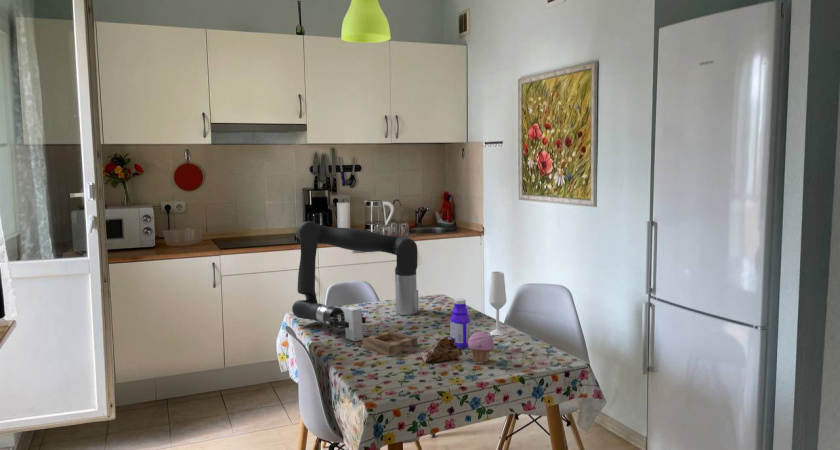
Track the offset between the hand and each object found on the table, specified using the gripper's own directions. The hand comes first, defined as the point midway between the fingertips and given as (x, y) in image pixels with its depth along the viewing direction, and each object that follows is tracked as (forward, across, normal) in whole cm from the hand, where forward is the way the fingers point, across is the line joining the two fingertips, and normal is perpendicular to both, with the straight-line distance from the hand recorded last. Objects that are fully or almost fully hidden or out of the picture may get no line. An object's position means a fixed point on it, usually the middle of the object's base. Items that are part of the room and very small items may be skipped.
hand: (356, 323), depth 241 cm
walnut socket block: (+16, +2, +7) cm, 17 cm away
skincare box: (-2, 0, +7) cm, 7 cm away
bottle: (+34, +20, +7) cm, 40 cm away
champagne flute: (+35, +41, +7) cm, 54 cm away
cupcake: (+50, +12, +7) cm, 52 cm away
